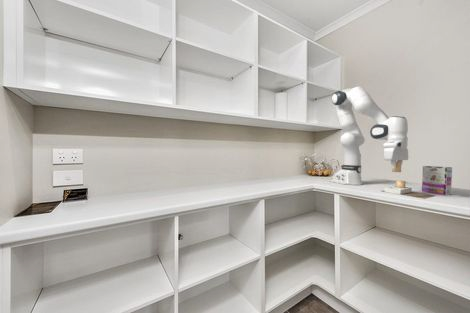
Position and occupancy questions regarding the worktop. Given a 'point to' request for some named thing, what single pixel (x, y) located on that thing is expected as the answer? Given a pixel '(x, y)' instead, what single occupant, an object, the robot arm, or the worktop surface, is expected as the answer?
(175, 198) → the worktop surface
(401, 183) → the housing
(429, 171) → the candy bar box
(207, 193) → the worktop surface
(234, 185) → the worktop surface
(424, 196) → the assembly board
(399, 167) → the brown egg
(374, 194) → the worktop surface
